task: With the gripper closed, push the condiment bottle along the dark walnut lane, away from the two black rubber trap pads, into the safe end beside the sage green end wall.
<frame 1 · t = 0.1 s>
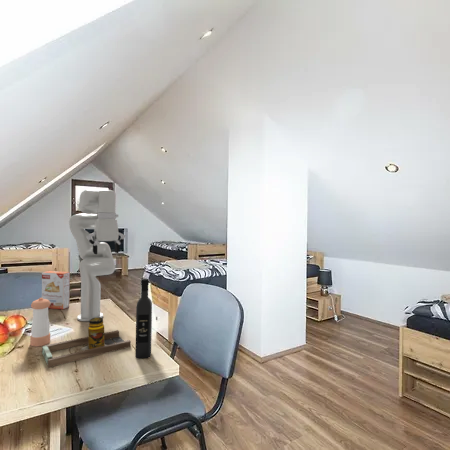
hand: (106, 253, 144), 37 cm above the table, tool pointing down, fingers open, 9 cm apart
pepper shaker: (40, 343, 130), on the table
trap lane: (87, 349, 125), on the table
wine bottle: (143, 356, 121), on the table
cracker box: (55, 307, 180), on the table
condiment: (95, 348, 127), resting in trap lane
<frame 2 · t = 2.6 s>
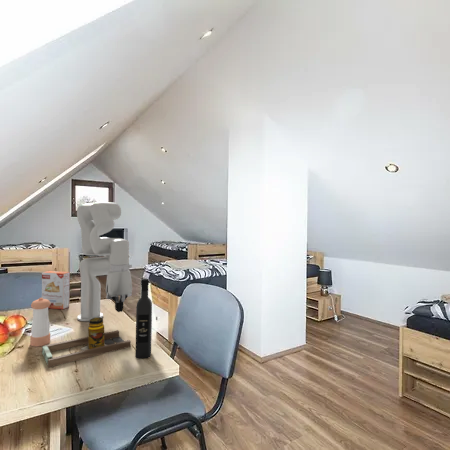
hand: (119, 311, 132), 14 cm above the table, tool pointing down, fingers closed
nothing on the table moved.
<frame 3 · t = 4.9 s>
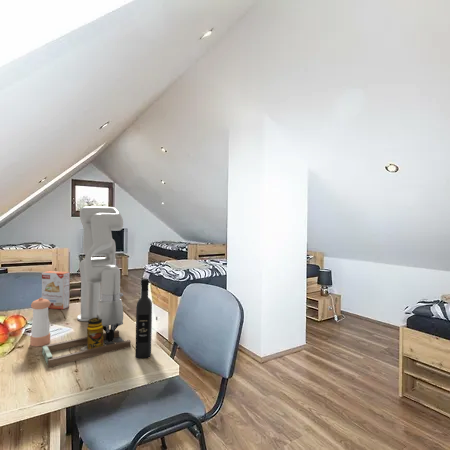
hand: (109, 340, 130), 2 cm above the table, tool pointing down, fingers closed
condiment: (94, 348, 127), resting in trap lane, touching gripper
everything else where it was.
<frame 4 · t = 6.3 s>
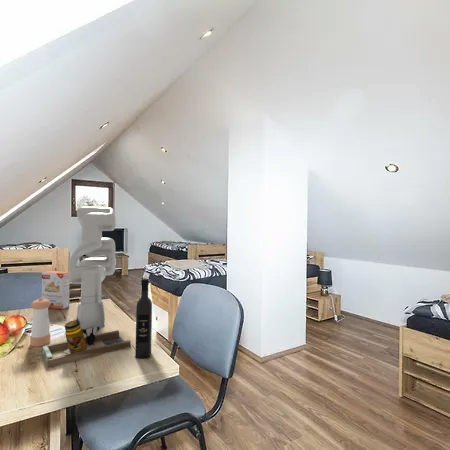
hand: (90, 344, 125), 2 cm above the table, tool pointing down, fingers closed
condiment: (77, 350, 123), point 1 cm above the table, touching gripper
everything else where it was.
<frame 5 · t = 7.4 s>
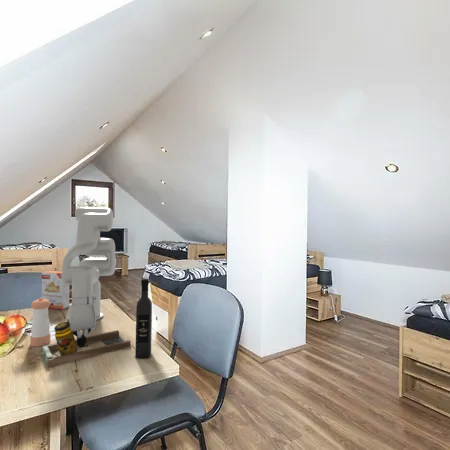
hand: (81, 346, 123), 2 cm above the table, tool pointing down, fingers closed
condiment: (68, 352, 121), point 1 cm above the table, touching gripper
everything else where it was.
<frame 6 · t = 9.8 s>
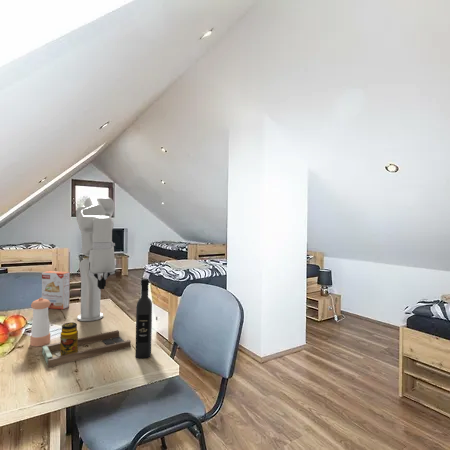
hand: (101, 288, 133), 23 cm above the table, tool pointing down, fingers closed
condiment: (68, 354, 121), resting in trap lane
everything else where it was.
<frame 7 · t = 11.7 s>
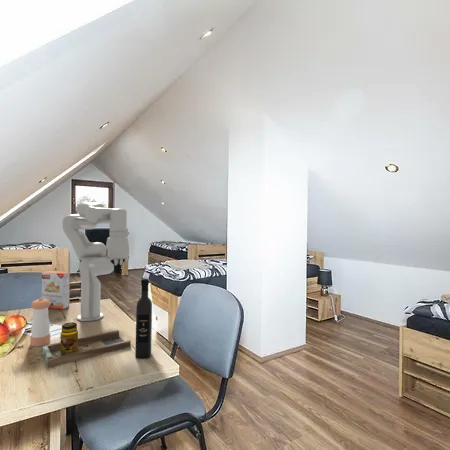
hand: (117, 273, 147), 27 cm above the table, tool pointing down, fingers closed
nothing on the table moved.
at the end: condiment inside the target area (0.9 cm from its centre), resting in trap lane; condiment tilted 0° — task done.
